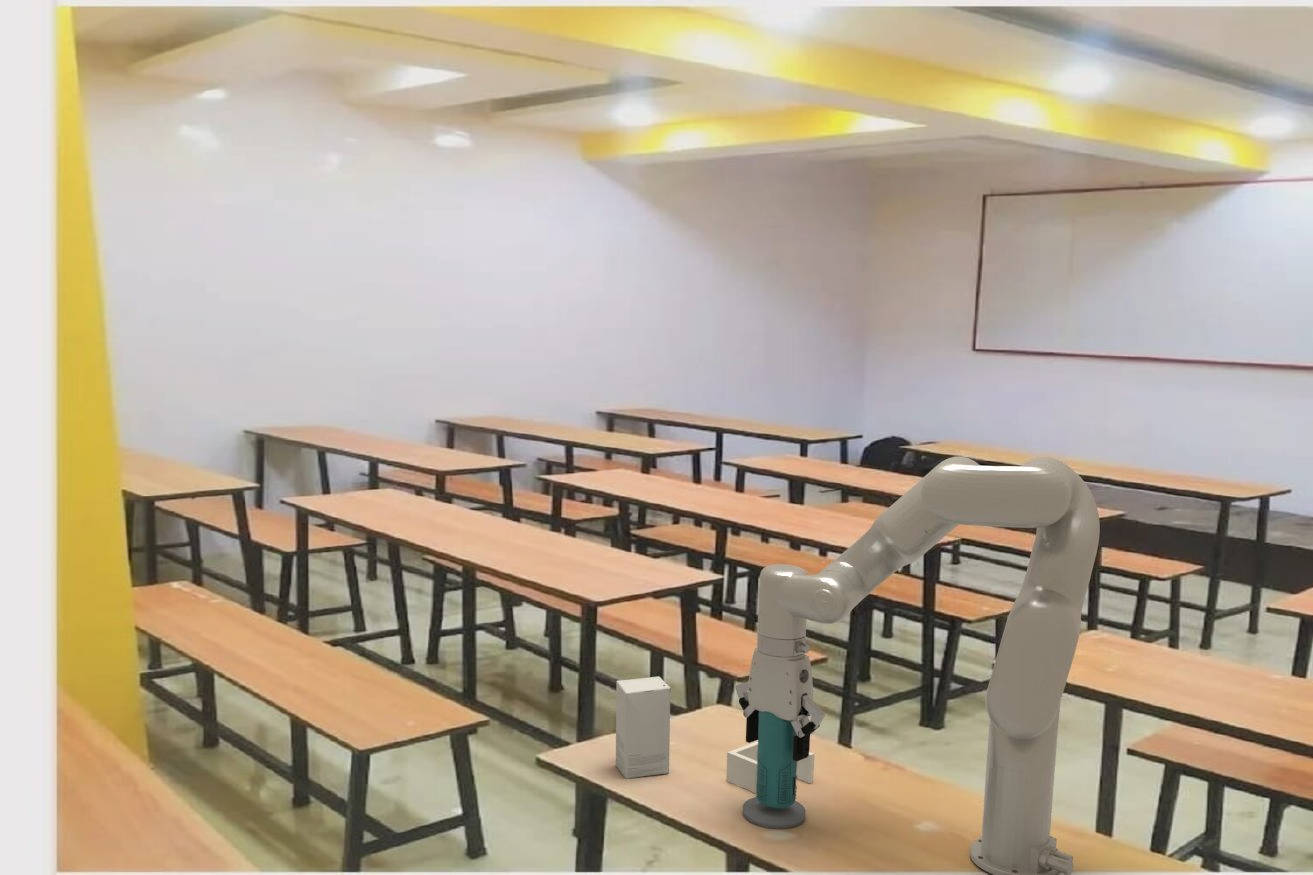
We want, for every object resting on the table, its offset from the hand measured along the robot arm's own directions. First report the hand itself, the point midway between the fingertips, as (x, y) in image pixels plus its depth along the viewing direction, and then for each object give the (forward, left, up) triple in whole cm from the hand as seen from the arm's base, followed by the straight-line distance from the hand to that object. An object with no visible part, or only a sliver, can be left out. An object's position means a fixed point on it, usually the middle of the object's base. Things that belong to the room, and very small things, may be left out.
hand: (776, 749), depth 184 cm
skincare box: (+26, +4, -11) cm, 29 cm away
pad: (0, 0, -11) cm, 11 cm away
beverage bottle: (0, 0, -10) cm, 10 cm away
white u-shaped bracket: (+8, -9, -11) cm, 17 cm away
